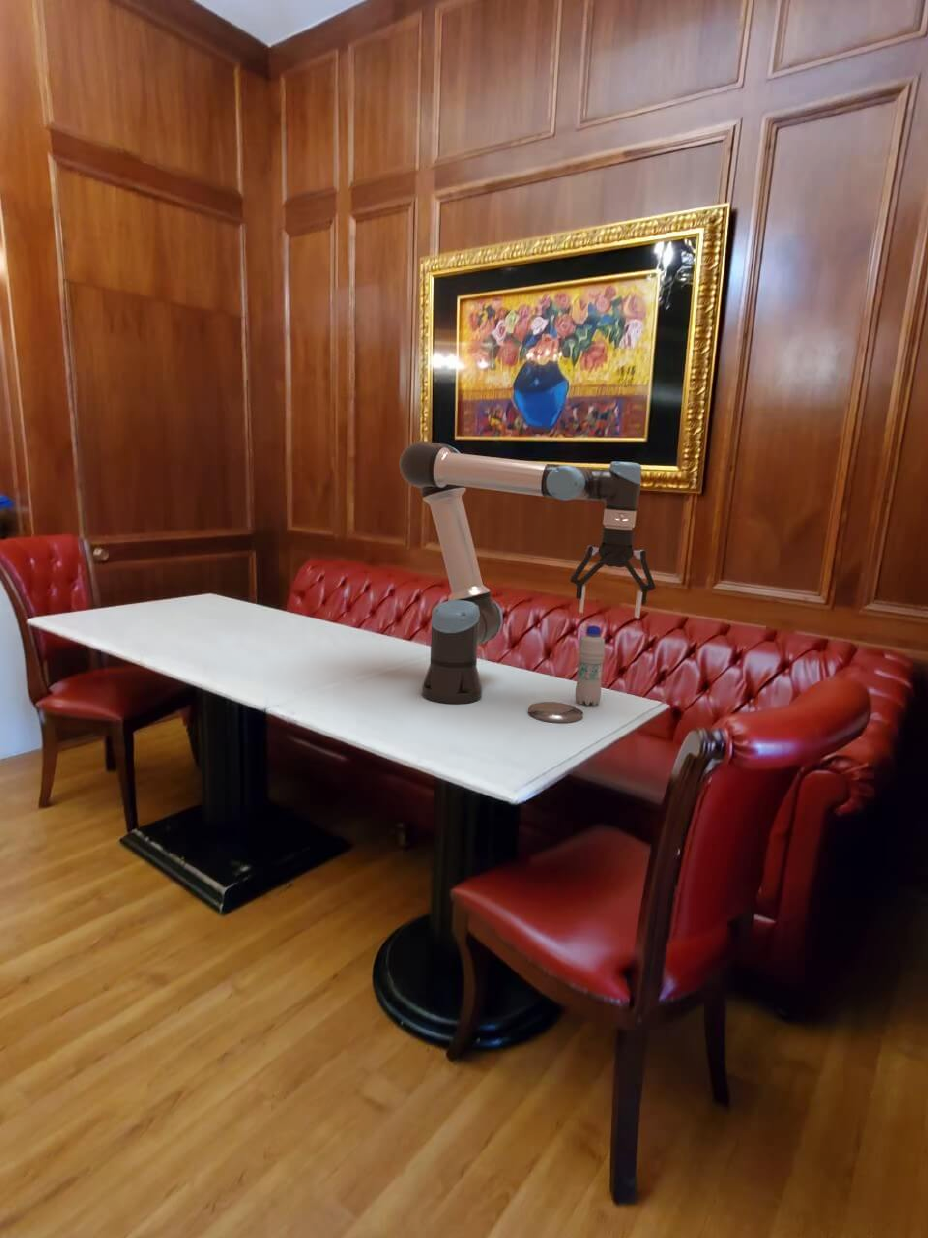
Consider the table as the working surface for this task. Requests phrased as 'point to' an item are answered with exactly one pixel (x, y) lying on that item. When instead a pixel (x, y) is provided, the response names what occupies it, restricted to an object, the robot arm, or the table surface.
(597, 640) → the bottle
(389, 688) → the table surface
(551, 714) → the flange disc
